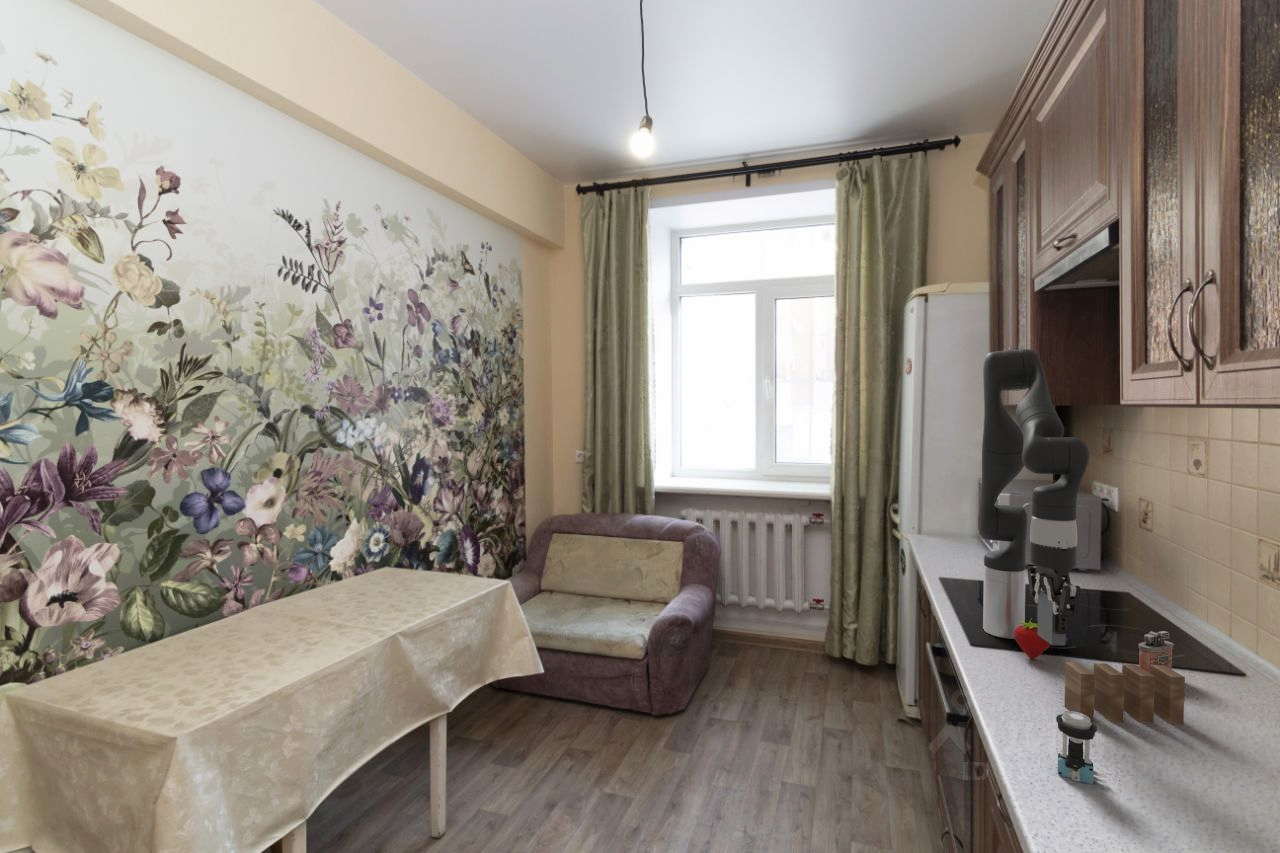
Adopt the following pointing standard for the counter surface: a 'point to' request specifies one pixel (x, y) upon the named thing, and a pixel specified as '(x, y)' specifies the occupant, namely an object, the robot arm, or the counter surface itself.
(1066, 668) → the walnut tile
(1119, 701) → the walnut tile
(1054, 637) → the charcoal tile
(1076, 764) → the push button
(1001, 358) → the robot arm
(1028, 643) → the strawberry
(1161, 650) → the lighter
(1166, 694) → the walnut tile
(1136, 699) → the walnut tile
